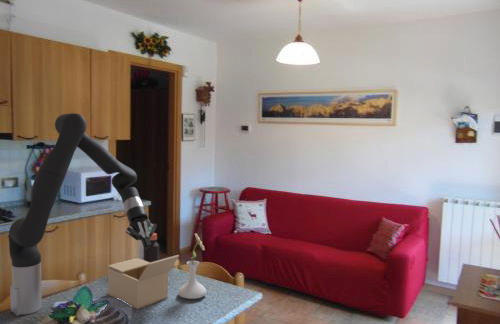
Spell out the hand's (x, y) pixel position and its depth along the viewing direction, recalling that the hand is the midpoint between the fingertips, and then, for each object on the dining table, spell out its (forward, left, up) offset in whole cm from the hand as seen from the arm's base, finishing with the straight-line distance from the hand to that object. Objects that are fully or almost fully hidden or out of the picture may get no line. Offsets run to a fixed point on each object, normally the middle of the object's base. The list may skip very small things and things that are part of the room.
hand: (148, 247), depth 155 cm
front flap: (0, -7, -6) cm, 9 cm away
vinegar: (+16, +20, -22) cm, 33 cm away
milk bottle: (+22, +32, -22) cm, 44 cm away
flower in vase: (+16, -8, -22) cm, 28 cm away
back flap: (0, +12, -10) cm, 16 cm away
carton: (0, +7, -21) cm, 22 cm away
